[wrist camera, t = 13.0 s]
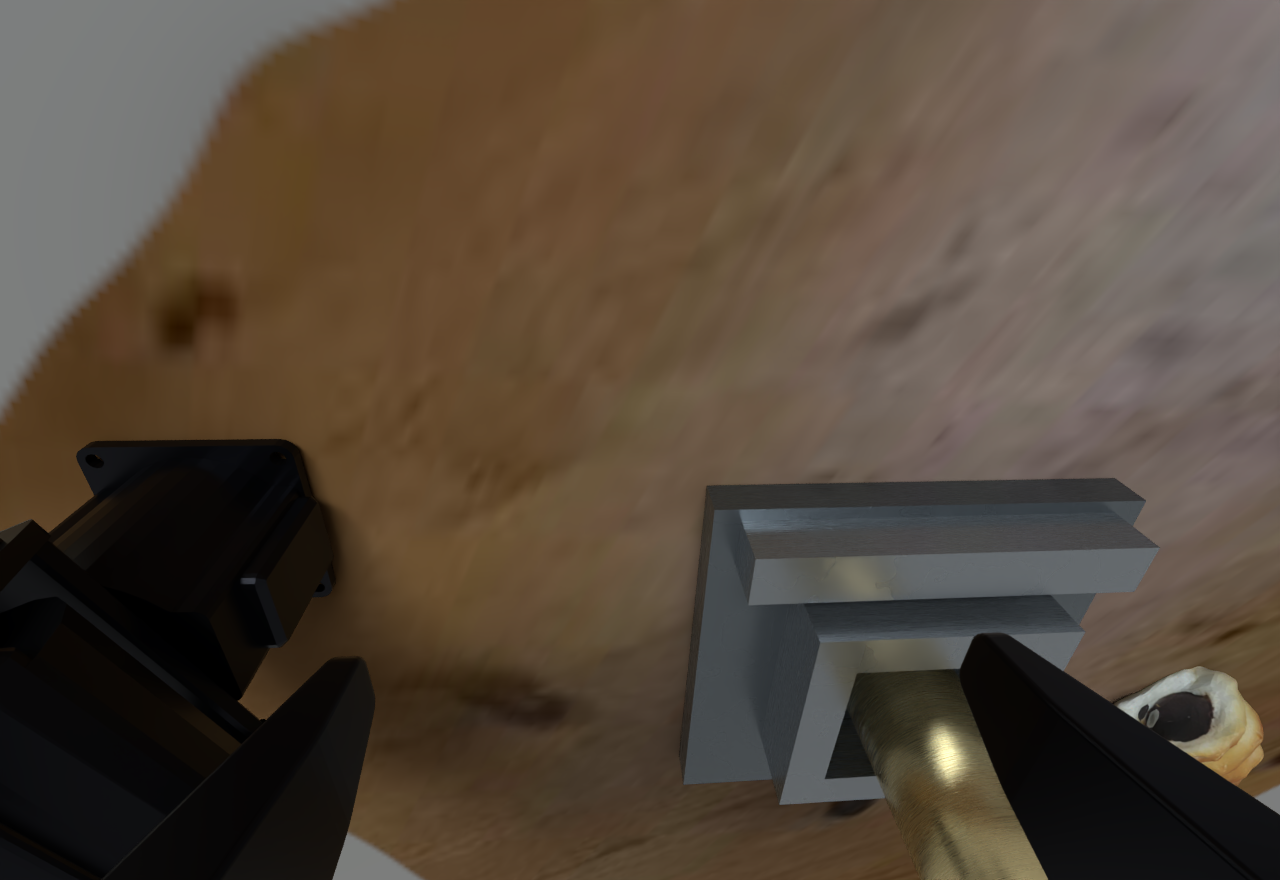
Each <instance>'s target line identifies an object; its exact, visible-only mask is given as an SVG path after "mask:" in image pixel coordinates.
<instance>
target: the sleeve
mask: <svg viewBox="0 0 1280 880" xmlns="http://www.w3.org/2000/svg"><path fill="white" fill-rule="evenodd" d="M847 709H848V712H849V714H850V716H851V719H852V721H853V723H854V726H855V728H856V730H857V733H858V735H859V737H860V740H861V742H862V744H863V747H864V749H865V751H866V754H867V756H868V758H869V761H870V763H871V766H872V768H873V770H874V773H875V775H876V777H877V780H878V782H879V784H880V787H881V789H882V791H883V794H884V796H885V798H886V801H887V803H888V805H889V808H890V810H891V812H892V815H893V817H894V819H895V822H896V824H897V826H898V829H899V831H900V833H901V836H902V838H903V841H904V843H905V845H906V848H907V850H908V852H909V855H910V857H911V859H912V862H913V864H914V866H915V869H916V871H917V873H918V876H919V878H920V880H1048V878H1047V876H1046V874H1045V872H1044V870H1043V868H1042V866H1041V864H1040V862H1039V860H1038V859H1037V857H1036V855H1035V853H1034V851H1033V849H1032V847H1031V845H1030V843H1029V841H1028V839H1027V837H1026V835H1025V833H1024V831H1023V829H1022V827H1021V825H1020V823H1019V821H1018V819H1017V817H1016V815H1015V813H1014V811H1013V809H1012V807H1011V805H1010V803H1009V801H1008V799H1007V797H1006V795H1005V793H1004V791H1003V789H1002V787H1001V784H1000V782H999V780H998V777H997V775H996V773H995V770H994V768H993V765H992V763H991V760H990V758H989V755H988V753H987V750H986V748H985V745H984V743H983V740H982V738H981V735H980V732H979V730H978V727H977V725H976V722H975V720H974V717H973V715H972V712H971V710H970V707H969V705H968V702H967V700H966V697H965V695H964V692H963V690H962V687H961V684H960V679H959V677H958V675H957V674H956V672H955V670H954V669H940V670H918V671H896V672H874V673H857V675H856V678H855V682H854V685H853V688H852V691H851V695H850V698H849V701H848V704H847Z"/></svg>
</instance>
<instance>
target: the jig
mask: <svg viewBox="0 0 1280 880" xmlns="http://www.w3.org/2000/svg"><path fill="white" fill-rule="evenodd" d="M1145 502H1146V500H1144V499H1143V498H1142V497H1140V496H1139V495H1137V494H1136V493H1135V492H1133V491H1132V490H1131V489H1129V488H1128V487H1126V486H1125V485H1124V484H1122V483H1121V482H1119V481H1118V480H1117V479H1115V478H1105V479H1050V480H995V481H940V482H885V483H829V484H774V485H719V486H707V491H706V501H705V511H704V520H703V530H702V539H701V549H700V559H699V568H698V578H697V588H696V597H695V607H694V617H693V626H692V636H691V645H690V655H689V665H688V674H687V684H686V694H685V703H684V713H683V722H682V732H681V742H680V751H679V757H680V764H681V771H682V778H683V785H686V784H702V783H719V782H735V781H752V780H768V779H772V780H773V784H774V787H775V791H776V795H777V798H778V802H779V805H784V804H800V803H816V802H831V801H847V800H862V799H878V798H885V796H884V794H883V791H882V789H881V787H880V784H879V782H878V780H877V777H876V775H875V773H874V770H873V768H872V766H871V763H870V761H869V758H868V756H867V754H866V751H865V749H864V747H863V744H862V742H861V740H860V737H859V735H858V733H857V730H856V728H855V726H854V723H853V721H852V719H851V716H850V714H849V712H848V709H847V704H848V701H849V698H850V695H851V691H852V688H853V685H854V682H855V678H856V675H857V673H874V672H896V671H918V670H940V669H954V670H955V672H956V674H957V675H958V677H959V671H960V667H961V664H962V662H963V660H964V657H965V655H966V653H967V650H968V648H969V646H970V643H971V641H972V639H973V637H974V636H975V635H977V634H979V633H994V632H1001V633H1005V634H1008V635H1009V636H1011V637H1013V638H1014V639H1016V640H1017V641H1019V642H1020V643H1022V644H1023V645H1025V646H1026V647H1028V648H1029V649H1031V650H1032V651H1034V652H1035V653H1037V654H1038V655H1040V656H1041V657H1043V658H1044V659H1046V660H1047V661H1049V662H1050V663H1052V664H1053V665H1055V666H1056V667H1058V668H1059V669H1061V670H1062V671H1064V669H1065V667H1066V666H1067V664H1068V662H1069V660H1070V658H1071V657H1072V655H1073V653H1074V651H1075V649H1076V648H1077V646H1078V644H1079V642H1080V640H1081V639H1082V637H1083V635H1084V633H1085V631H1084V630H1083V629H1082V628H1081V627H1080V626H1079V624H1080V622H1081V620H1082V618H1083V616H1084V615H1085V613H1086V611H1087V609H1088V607H1089V605H1090V604H1091V602H1092V600H1093V598H1094V596H1095V594H1096V593H1109V592H1134V591H1135V590H1136V588H1137V586H1138V584H1139V583H1140V581H1141V579H1142V578H1143V576H1144V574H1145V572H1146V571H1147V569H1148V567H1149V566H1150V564H1151V562H1152V560H1153V559H1154V557H1155V555H1156V554H1157V552H1158V550H1159V548H1160V547H1158V546H1157V545H1156V544H1155V543H1153V542H1152V541H1151V540H1150V539H1148V538H1147V537H1146V536H1144V535H1143V534H1142V533H1141V532H1139V531H1138V530H1137V529H1136V528H1134V527H1133V524H1134V522H1135V521H1136V519H1137V517H1138V515H1139V513H1140V511H1141V510H1142V508H1143V506H1144V504H1145Z"/></svg>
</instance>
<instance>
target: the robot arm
mask: <svg viewBox="0 0 1280 880" xmlns="http://www.w3.org/2000/svg"><path fill="white" fill-rule="evenodd" d="M275 452H279V453H282V454H283V455H284V456H285V457H286V459H282V458H280V457H278V456H277V455H276V453H275ZM95 455H97V456H99V457H100V458H101V459H102V460H103V461H101V460H100V459H98V458H97V457H96V456H95ZM76 457H77V461H78V463H79V465H80V467H81V469H82V471H83V473H84V475H85V477H86V479H87V481H88V483H89V485H90V487H91V489H92V491H93V493H94V495H95V496H94V497H92V498H91V499H90V500H89V501H87V502H86V503H85V504H84V505H82V506H81V507H80V508H79V509H78V510H76V511H75V512H74V513H73V514H71V515H70V516H69V517H68V518H66V519H65V520H64V521H63V522H62V523H60V524H59V525H58V526H57V527H55V528H54V529H53V530H52V531H50V532H49V533H47V532H46V531H45V530H44V529H43V528H42V527H40V526H39V525H38V524H37V523H36V522H35V521H33V520H32V519H30V520H28V521H25V522H23V523H20V524H18V525H15V526H13V527H11V528H8V529H6V530H3V531H1V532H0V880H332V879H333V876H334V872H335V869H336V866H337V863H338V860H339V857H340V854H341V851H342V848H343V845H344V841H345V838H346V835H347V831H348V828H349V824H350V820H351V816H352V812H353V807H354V803H355V798H356V794H357V789H358V784H359V780H360V775H361V770H362V766H363V761H364V756H365V752H366V747H367V742H368V738H369V733H370V728H371V724H372V719H373V714H374V709H375V694H374V690H373V686H372V683H371V679H370V676H369V672H368V668H367V665H366V662H365V660H364V659H363V658H362V657H359V656H350V657H335V658H332V659H330V660H329V661H327V662H326V663H325V664H324V665H323V666H322V667H321V668H320V669H319V670H318V671H317V672H316V673H315V674H314V675H313V676H312V677H310V678H309V679H308V680H307V681H306V682H305V683H304V684H303V685H302V686H301V687H300V688H299V689H298V690H297V691H296V692H295V693H294V694H293V695H292V696H291V697H290V698H289V699H288V700H287V701H286V702H285V703H283V704H282V705H281V706H280V707H279V708H278V709H277V710H276V711H275V712H274V713H273V714H272V715H271V716H270V717H269V718H268V719H267V720H265V719H261V720H259V719H258V718H257V717H256V716H255V715H253V714H252V713H251V712H250V711H249V710H247V709H246V708H245V707H244V706H243V705H242V704H240V703H239V702H238V701H237V700H240V699H241V698H242V696H243V694H244V693H245V691H246V689H247V687H248V686H249V684H250V682H251V680H252V679H253V677H254V675H255V673H256V672H257V670H258V668H259V666H260V665H261V663H262V661H263V659H264V658H265V656H266V654H267V652H268V651H269V649H270V648H278V647H282V646H283V645H284V644H285V643H286V642H287V641H288V640H289V639H290V637H291V635H292V633H293V631H294V629H295V628H296V626H297V624H298V622H299V620H300V618H301V617H302V615H303V613H304V611H305V609H306V607H307V606H308V604H309V602H310V600H311V598H312V597H324V596H327V595H329V594H330V593H331V591H332V589H333V587H334V585H335V583H336V578H335V575H334V571H333V568H332V564H331V562H332V560H333V552H332V548H331V545H330V541H329V538H328V534H327V531H326V527H325V524H324V520H323V516H322V513H321V509H320V506H319V503H318V502H317V501H316V500H315V499H314V497H312V495H311V491H310V488H309V484H308V481H307V477H306V474H305V470H304V467H303V463H302V460H301V456H300V453H299V451H298V449H297V447H296V446H295V445H294V444H293V443H291V442H289V441H287V440H282V439H248V440H157V441H95V442H91V443H89V444H88V445H86V446H85V447H84V448H82V449H81V450H79V451H78V453H77V456H76ZM320 583H322V584H323V585H322V584H320ZM959 679H960V684H961V687H962V690H963V692H964V695H965V697H966V700H967V702H968V705H969V707H970V710H971V712H972V715H973V717H974V720H975V722H976V725H977V727H978V730H979V732H980V735H981V738H982V740H983V743H984V745H985V748H986V750H987V753H988V755H989V758H990V760H991V763H992V765H993V768H994V770H995V773H996V775H997V777H998V780H999V782H1000V784H1001V787H1002V789H1003V791H1004V793H1005V795H1006V797H1007V799H1008V801H1009V803H1010V805H1011V807H1012V809H1013V811H1014V813H1015V815H1016V817H1017V819H1018V821H1019V823H1020V825H1021V827H1022V829H1023V831H1024V833H1025V835H1026V837H1027V839H1028V841H1029V843H1030V845H1031V847H1032V849H1033V851H1034V853H1035V855H1036V857H1037V859H1038V860H1039V862H1040V864H1041V866H1042V868H1043V870H1044V872H1045V874H1046V876H1047V878H1048V880H1280V815H1279V814H1278V813H1276V812H1275V811H1273V810H1271V809H1270V808H1269V807H1267V806H1265V805H1264V804H1263V803H1261V802H1260V801H1258V800H1257V799H1255V798H1254V797H1252V796H1251V795H1249V794H1248V793H1246V792H1245V791H1243V790H1242V789H1240V788H1239V787H1237V786H1236V785H1234V784H1233V783H1231V782H1229V781H1228V780H1226V779H1225V778H1223V777H1222V776H1220V775H1219V774H1217V773H1216V772H1214V771H1213V770H1211V769H1210V768H1208V767H1207V766H1205V765H1204V764H1202V763H1201V762H1199V761H1198V760H1196V759H1195V758H1193V757H1192V756H1190V755H1189V754H1187V753H1186V752H1184V751H1183V750H1181V749H1180V748H1178V747H1177V746H1175V745H1174V744H1172V743H1171V742H1169V741H1168V740H1166V739H1165V738H1163V737H1162V736H1160V735H1159V734H1157V733H1156V732H1154V731H1153V730H1151V729H1150V728H1148V727H1147V726H1145V725H1144V724H1142V723H1141V722H1139V721H1138V720H1136V719H1135V718H1133V717H1132V716H1130V715H1129V714H1127V713H1126V712H1124V711H1123V710H1121V709H1120V708H1118V707H1117V706H1115V705H1114V704H1112V703H1111V702H1109V701H1108V700H1106V699H1105V698H1103V697H1102V696H1100V695H1099V694H1097V693H1096V692H1094V691H1093V690H1091V689H1090V688H1088V687H1086V686H1085V685H1083V684H1082V683H1080V682H1079V681H1077V680H1076V679H1074V678H1073V677H1071V676H1070V675H1068V674H1067V673H1065V672H1064V671H1062V670H1061V669H1059V668H1058V667H1056V666H1055V665H1053V664H1052V663H1050V662H1049V661H1047V660H1046V659H1044V658H1043V657H1041V656H1040V655H1038V654H1037V653H1035V652H1034V651H1032V650H1031V649H1029V648H1028V647H1026V646H1025V645H1023V644H1022V643H1020V642H1019V641H1017V640H1016V639H1014V638H1013V637H1011V636H1009V635H1008V634H1005V633H1001V632H994V633H979V634H977V635H975V636H974V637H973V639H972V641H971V643H970V646H969V648H968V650H967V653H966V655H965V657H964V660H963V662H962V664H961V667H960V671H959Z"/></svg>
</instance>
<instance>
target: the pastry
mask: <svg viewBox="0 0 1280 880" xmlns="http://www.w3.org/2000/svg"><path fill="white" fill-rule="evenodd" d="M1237 687H1238V685H1237V682H1236V680H1235V679H1234V678H1232V677H1230V676H1229V675H1227V674H1225V673H1224V672H1220V671H1214V670H1209V669H1207V668H1204V667H1201V666H1198V667H1195V668H1193V669H1185V670H1182V671H1179V672H1176V673H1174V674H1171V675H1169V676H1166V677H1165V678H1163V679H1161V680H1159V681H1157V682H1155V683H1153V684H1151V685H1150V686H1148V687H1146V688H1145V689H1143V690H1142V691H1140V692H1137V693H1134V694H1131V695H1129V696H1127V697H1125V698H1123V699H1121V700H1119V701H1117V702H1115V703H1114V705H1115V706H1117V707H1118V708H1120V709H1121V710H1123V711H1124V712H1126V713H1127V714H1129V715H1130V716H1132V717H1133V718H1135V719H1136V720H1138V721H1139V722H1141V723H1142V724H1144V725H1145V726H1147V727H1148V728H1150V729H1151V730H1153V731H1154V732H1156V733H1157V734H1159V735H1160V736H1162V737H1163V738H1165V739H1166V740H1168V741H1169V742H1171V743H1172V744H1174V745H1175V746H1177V747H1178V748H1180V749H1181V750H1183V751H1184V752H1186V753H1187V754H1189V755H1190V756H1192V757H1193V758H1195V759H1196V760H1198V761H1199V762H1201V763H1202V764H1204V765H1205V766H1207V767H1208V768H1210V769H1211V770H1213V771H1214V772H1216V773H1217V774H1219V775H1220V776H1222V777H1223V778H1225V779H1226V780H1228V781H1229V782H1231V783H1233V784H1234V785H1238V784H1239V783H1240V781H1241V780H1242V779H1243V778H1245V777H1246V776H1247V775H1248V773H1249V772H1250V771H1251V769H1252V768H1254V767H1255V766H1257V765H1258V764H1259V763H1260V762H1261V760H1262V759H1263V757H1264V756H1263V750H1262V747H1261V745H1260V743H1261V742H1262V741H1263V726H1262V724H1261V721H1260V718H1259V716H1258V714H1257V713H1256V712H1255V711H1254V710H1253V709H1252V707H1251V706H1250V705H1249V704H1248V703H1247V702H1246V701H1245V700H1244V699H1243V698H1242V696H1241V695H1240V693H1239V691H1238V689H1237Z"/></svg>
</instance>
